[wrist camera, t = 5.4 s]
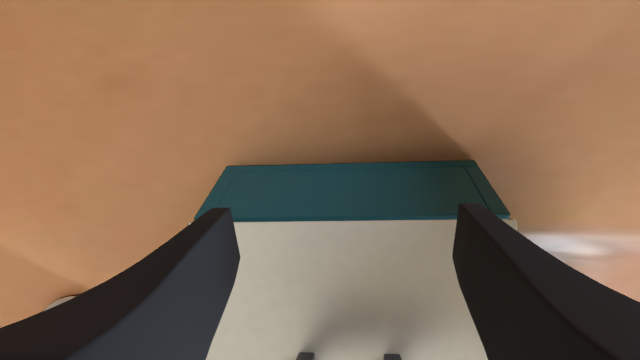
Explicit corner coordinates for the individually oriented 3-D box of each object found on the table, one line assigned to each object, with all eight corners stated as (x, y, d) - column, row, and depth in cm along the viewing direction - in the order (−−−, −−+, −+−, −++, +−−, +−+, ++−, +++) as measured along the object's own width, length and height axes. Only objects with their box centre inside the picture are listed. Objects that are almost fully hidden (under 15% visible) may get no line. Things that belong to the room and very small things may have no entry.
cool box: (453, 301, 27) (477, 373, 22) (252, 299, 28) (232, 368, 24) (474, 159, 22) (511, 214, 17) (226, 165, 23) (193, 218, 18)
